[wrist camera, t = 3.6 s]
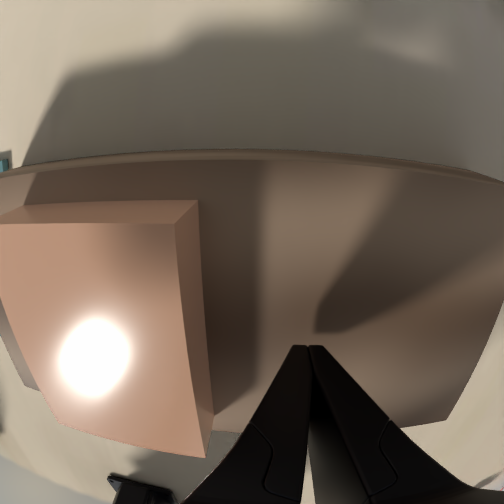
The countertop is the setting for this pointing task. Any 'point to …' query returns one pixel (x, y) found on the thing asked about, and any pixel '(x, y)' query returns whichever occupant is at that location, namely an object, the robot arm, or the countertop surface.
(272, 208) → the platform
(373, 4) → the countertop surface
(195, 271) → the tile
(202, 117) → the countertop surface
